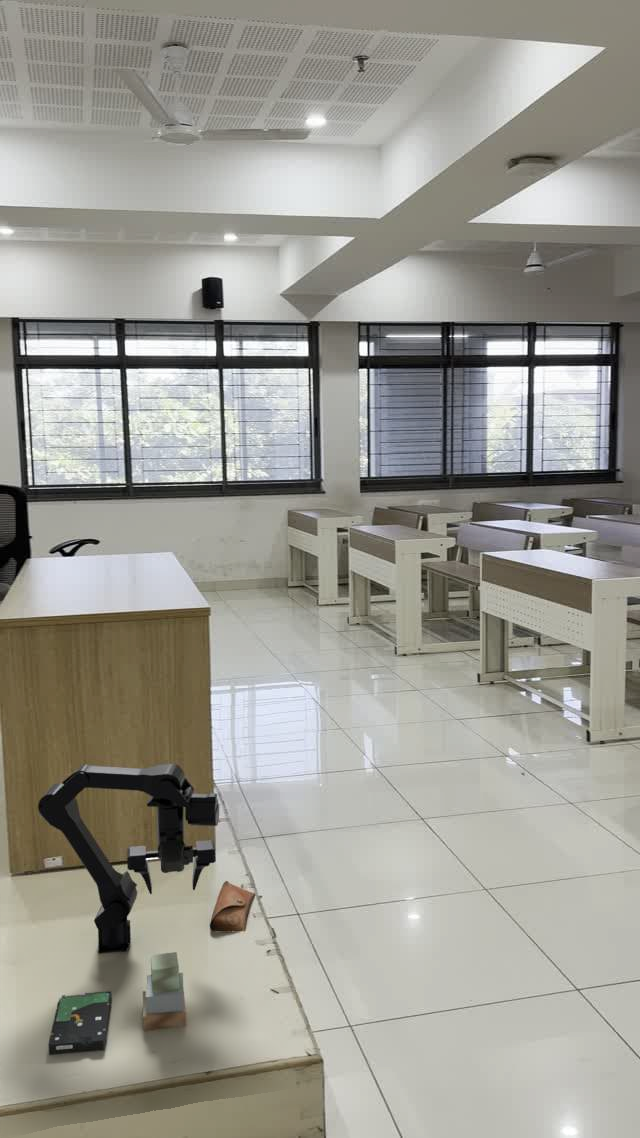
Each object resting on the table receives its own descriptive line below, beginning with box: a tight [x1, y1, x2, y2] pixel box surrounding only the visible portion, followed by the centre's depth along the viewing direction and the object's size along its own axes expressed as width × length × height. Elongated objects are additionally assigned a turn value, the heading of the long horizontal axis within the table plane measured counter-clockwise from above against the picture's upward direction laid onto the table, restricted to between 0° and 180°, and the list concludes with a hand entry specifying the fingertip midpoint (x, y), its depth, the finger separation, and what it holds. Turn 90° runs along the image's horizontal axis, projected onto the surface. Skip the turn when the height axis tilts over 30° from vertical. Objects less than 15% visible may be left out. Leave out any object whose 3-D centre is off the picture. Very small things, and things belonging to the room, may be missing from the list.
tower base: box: [142, 986, 187, 1032], centre depth 181 cm, size 8×8×4 cm
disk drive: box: [48, 990, 113, 1056], centre depth 178 cm, size 10×3×15 cm
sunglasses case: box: [209, 880, 256, 933], centre depth 219 cm, size 18×7×7 cm, turn 177°
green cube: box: [150, 951, 180, 994], centre depth 180 cm, size 5×5×5 cm
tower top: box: [145, 972, 184, 1014], centre depth 181 cm, size 7×7×4 cm
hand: (172, 891), depth 202 cm, fingers open, 9 cm apart
